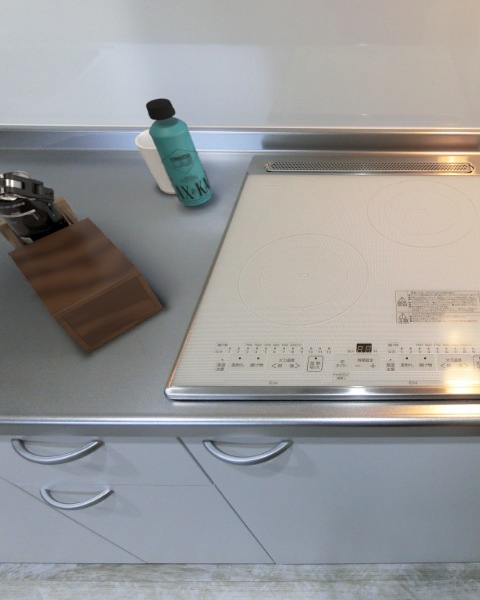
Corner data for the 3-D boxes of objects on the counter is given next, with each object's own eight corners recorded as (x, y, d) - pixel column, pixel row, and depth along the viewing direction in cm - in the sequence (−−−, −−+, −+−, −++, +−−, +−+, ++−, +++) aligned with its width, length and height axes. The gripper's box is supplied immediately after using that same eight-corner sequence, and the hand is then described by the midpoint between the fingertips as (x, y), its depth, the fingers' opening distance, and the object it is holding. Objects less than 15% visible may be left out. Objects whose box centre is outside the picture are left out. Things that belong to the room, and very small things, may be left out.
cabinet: (43, 292, 71) (7, 253, 64) (114, 256, 76) (88, 217, 70) (87, 353, 63) (51, 316, 56) (163, 308, 68) (139, 269, 62)
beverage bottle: (175, 203, 86) (127, 102, 71) (205, 189, 89) (166, 89, 74) (192, 217, 83) (146, 115, 68) (222, 202, 86) (185, 101, 71)
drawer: (11, 242, 77) (-16, 211, 72) (72, 215, 82) (51, 184, 77) (57, 304, 68) (29, 273, 62) (123, 270, 73) (102, 239, 68)
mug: (210, 184, 91) (192, 137, 83) (167, 201, 87) (145, 154, 79) (187, 162, 96) (169, 117, 88) (147, 178, 92) (123, 131, 84)
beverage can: (53, 227, 76) (7, 165, 67) (86, 234, 74) (44, 172, 65) (21, 252, 71) (-33, 190, 62) (55, 260, 70) (5, 198, 61)
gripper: (-37, 139, 51) (73, 172, 67) (-157, 136, 51) (-18, 170, 67) (-35, 204, 51) (74, 221, 68) (-154, 201, 51) (-16, 219, 68)
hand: (28, 195), depth 67 cm, fingers closed on beverage can, 7 cm apart
